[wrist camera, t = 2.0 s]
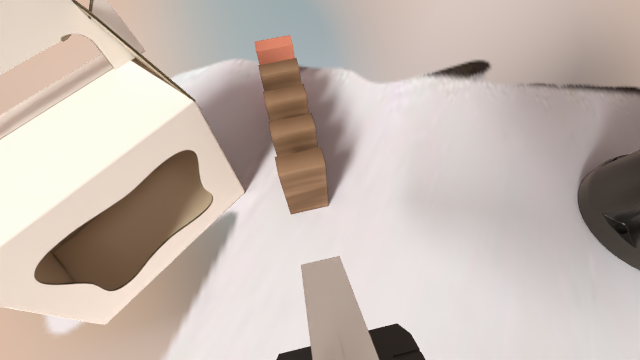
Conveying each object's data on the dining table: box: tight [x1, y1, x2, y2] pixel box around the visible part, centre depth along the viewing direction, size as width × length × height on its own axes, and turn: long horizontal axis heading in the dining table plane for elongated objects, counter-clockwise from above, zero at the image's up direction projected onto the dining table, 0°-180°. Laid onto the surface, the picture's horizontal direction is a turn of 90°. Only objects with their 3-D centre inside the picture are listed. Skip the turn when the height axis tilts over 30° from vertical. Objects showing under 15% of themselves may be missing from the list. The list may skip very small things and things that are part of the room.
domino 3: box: [263, 84, 309, 122], centre depth 43 cm, size 2×5×10 cm, turn 102°
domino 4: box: [269, 114, 317, 157], centre depth 40 cm, size 2×5×10 cm, turn 102°
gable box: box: [0, 0, 245, 325], centre depth 30 cm, size 22×13×28 cm, turn 140°
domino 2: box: [259, 58, 301, 91], centre depth 45 cm, size 2×5×10 cm, turn 103°
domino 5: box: [275, 148, 328, 214], centre depth 37 cm, size 2×5×10 cm, turn 102°
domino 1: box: [255, 35, 295, 65], centre depth 48 cm, size 2×5×10 cm, turn 103°
